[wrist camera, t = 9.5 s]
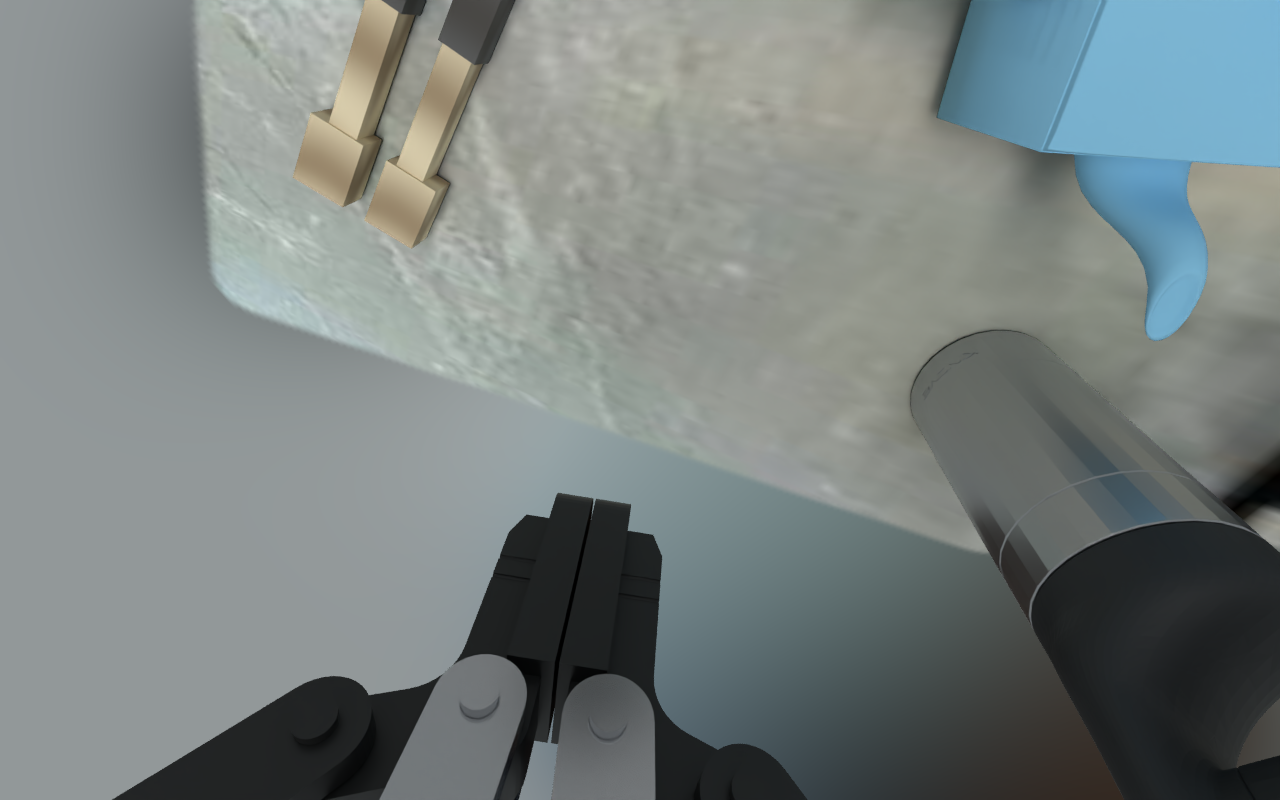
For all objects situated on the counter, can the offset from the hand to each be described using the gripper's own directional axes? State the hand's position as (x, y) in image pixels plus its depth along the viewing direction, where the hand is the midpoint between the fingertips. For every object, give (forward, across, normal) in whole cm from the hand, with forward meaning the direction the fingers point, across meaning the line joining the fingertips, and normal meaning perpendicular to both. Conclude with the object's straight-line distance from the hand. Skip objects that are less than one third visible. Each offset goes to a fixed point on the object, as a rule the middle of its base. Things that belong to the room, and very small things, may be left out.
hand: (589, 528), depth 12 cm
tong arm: (+27, +12, -4) cm, 30 cm away
